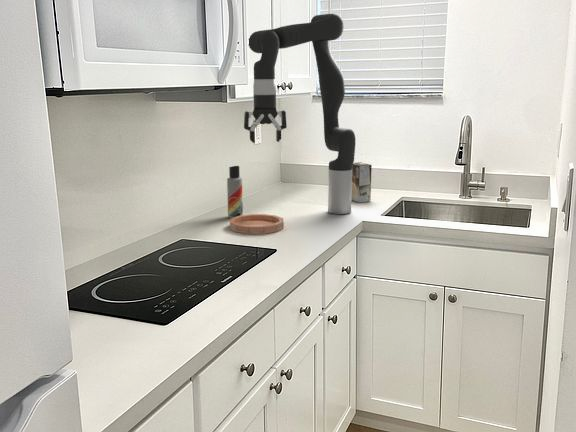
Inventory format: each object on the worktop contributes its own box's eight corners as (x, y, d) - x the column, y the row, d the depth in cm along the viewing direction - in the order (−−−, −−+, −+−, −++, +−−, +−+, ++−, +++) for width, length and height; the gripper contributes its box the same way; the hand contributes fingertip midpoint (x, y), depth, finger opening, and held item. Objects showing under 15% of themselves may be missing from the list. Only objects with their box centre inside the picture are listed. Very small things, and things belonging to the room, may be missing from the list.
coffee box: (371, 201, 249) (372, 164, 245) (358, 202, 246) (359, 165, 243) (360, 197, 257) (361, 161, 253) (347, 198, 254) (348, 162, 251)
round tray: (248, 218, 219) (248, 212, 218) (292, 224, 210) (292, 217, 210) (219, 230, 202) (219, 222, 202) (266, 236, 194) (266, 229, 193)
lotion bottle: (235, 219, 218) (234, 167, 213) (225, 217, 221) (223, 165, 216) (245, 216, 222) (244, 165, 217) (235, 214, 225) (233, 163, 221)
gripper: (283, 92, 197) (283, 140, 201) (242, 93, 194) (243, 141, 198) (287, 93, 190) (288, 142, 194) (245, 94, 187) (246, 143, 191)
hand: (265, 141), depth 196 cm, fingers open, 8 cm apart
